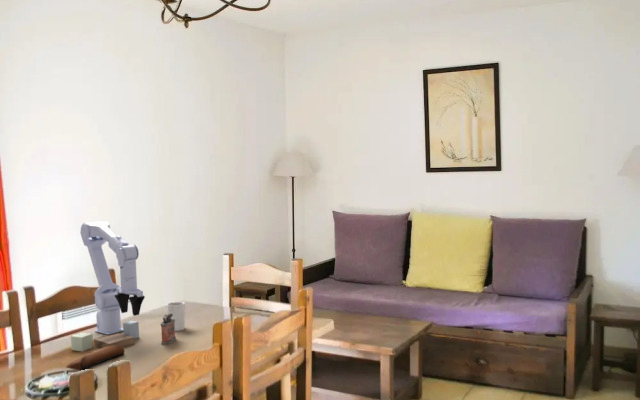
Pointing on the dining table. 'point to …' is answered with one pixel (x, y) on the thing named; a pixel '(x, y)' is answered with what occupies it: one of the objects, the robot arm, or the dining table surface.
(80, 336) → the sage cube
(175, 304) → the white cup
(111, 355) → the brown tapered cylinder
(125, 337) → the walnut block
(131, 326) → the blue block
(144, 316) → the dining table surface
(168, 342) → the lighter
